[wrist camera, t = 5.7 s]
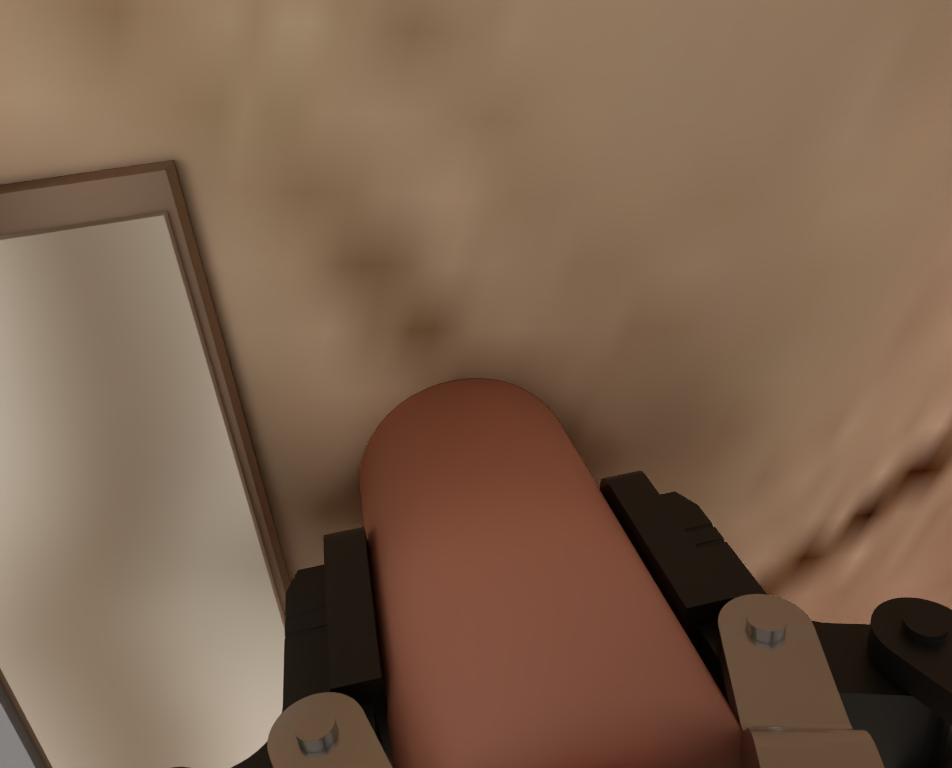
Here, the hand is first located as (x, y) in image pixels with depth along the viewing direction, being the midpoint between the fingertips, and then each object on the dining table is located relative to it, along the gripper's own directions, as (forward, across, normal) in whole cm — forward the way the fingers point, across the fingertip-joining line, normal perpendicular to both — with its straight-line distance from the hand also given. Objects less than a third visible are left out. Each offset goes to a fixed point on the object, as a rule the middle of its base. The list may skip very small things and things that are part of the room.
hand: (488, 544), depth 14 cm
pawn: (+2, 0, 0) cm, 2 cm away
